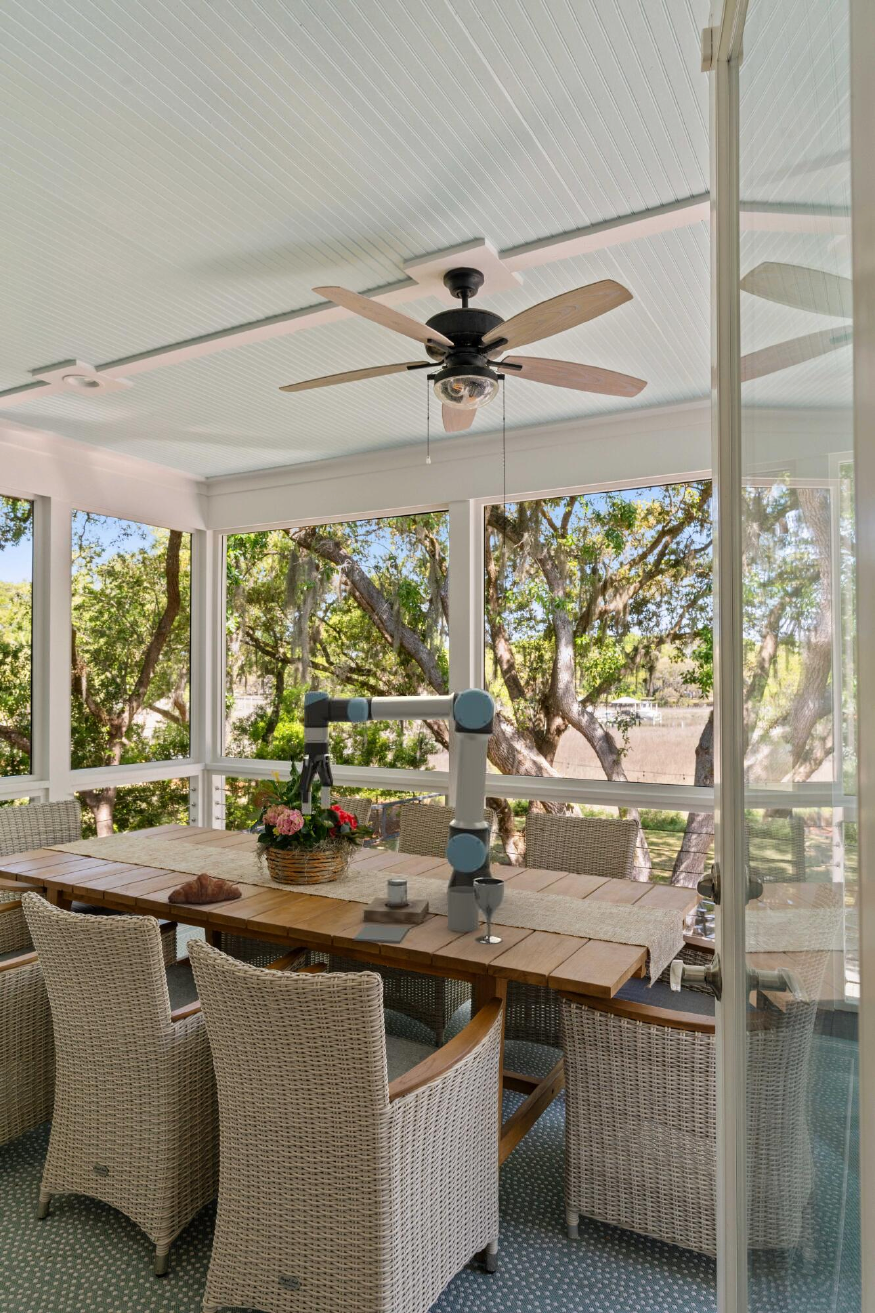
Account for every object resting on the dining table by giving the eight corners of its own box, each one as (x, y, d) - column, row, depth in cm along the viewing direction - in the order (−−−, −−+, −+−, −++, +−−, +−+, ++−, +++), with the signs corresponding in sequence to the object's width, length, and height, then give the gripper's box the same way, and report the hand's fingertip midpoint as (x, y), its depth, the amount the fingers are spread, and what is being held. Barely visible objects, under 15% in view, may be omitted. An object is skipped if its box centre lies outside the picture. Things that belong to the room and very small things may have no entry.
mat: (408, 929, 222) (408, 927, 222) (399, 943, 210) (399, 940, 210) (365, 927, 224) (365, 925, 224) (353, 940, 212) (353, 938, 212)
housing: (428, 910, 242) (428, 900, 242) (420, 923, 228) (420, 912, 228) (375, 907, 244) (375, 897, 244) (363, 920, 230) (363, 910, 230)
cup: (460, 921, 231) (460, 884, 231) (484, 926, 226) (484, 889, 226) (441, 927, 224) (441, 890, 225) (465, 933, 219) (465, 895, 219)
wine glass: (502, 935, 218) (502, 877, 218) (506, 944, 210) (506, 884, 210) (472, 935, 218) (472, 877, 218) (474, 944, 210) (475, 884, 210)
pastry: (208, 891, 264) (208, 866, 264) (244, 897, 256) (244, 871, 256) (166, 903, 249) (166, 876, 250) (202, 910, 241) (203, 882, 242)
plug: (408, 913, 238) (408, 878, 239) (404, 918, 233) (404, 882, 233) (389, 912, 239) (389, 877, 240) (385, 917, 234) (385, 882, 234)
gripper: (322, 738, 269) (322, 804, 268) (286, 743, 245) (286, 816, 244) (343, 739, 266) (343, 805, 266) (309, 744, 243) (309, 817, 242)
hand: (316, 810), depth 255 cm, fingers open, 13 cm apart
